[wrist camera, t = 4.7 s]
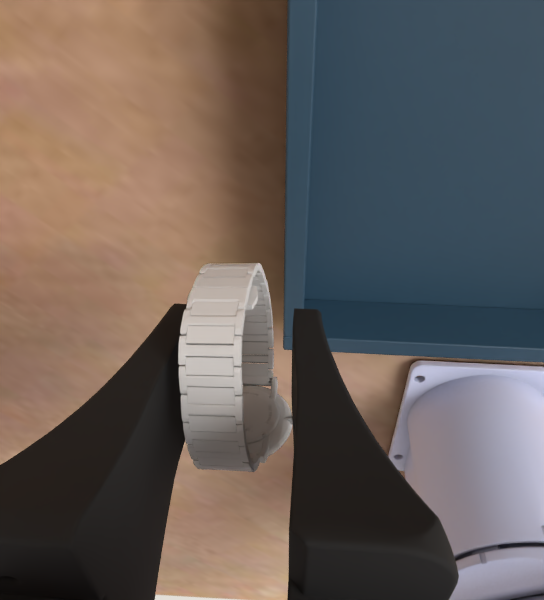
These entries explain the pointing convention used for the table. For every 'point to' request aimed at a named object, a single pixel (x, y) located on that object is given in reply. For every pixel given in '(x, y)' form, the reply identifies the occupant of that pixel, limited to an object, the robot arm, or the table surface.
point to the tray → (417, 176)
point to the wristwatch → (230, 370)
